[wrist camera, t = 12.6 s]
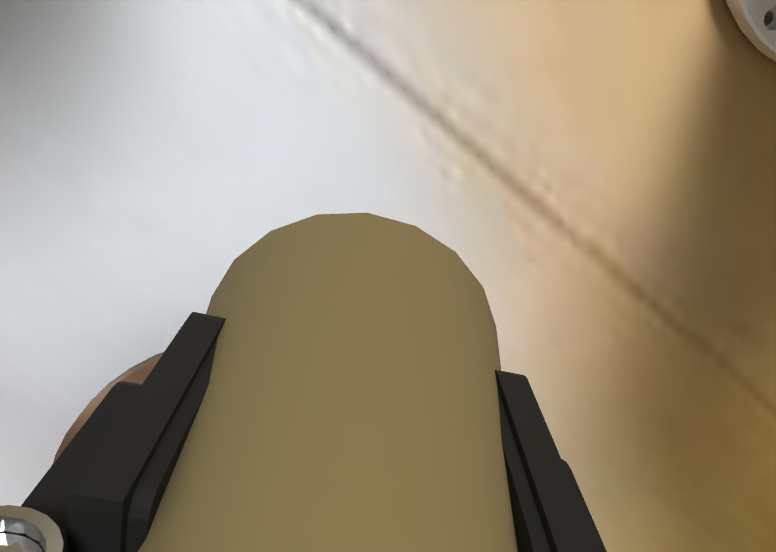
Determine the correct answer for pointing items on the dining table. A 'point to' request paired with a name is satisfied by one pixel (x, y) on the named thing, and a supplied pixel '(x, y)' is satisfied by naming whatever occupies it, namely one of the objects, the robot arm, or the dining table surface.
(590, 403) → the dining table surface
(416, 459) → the cork
